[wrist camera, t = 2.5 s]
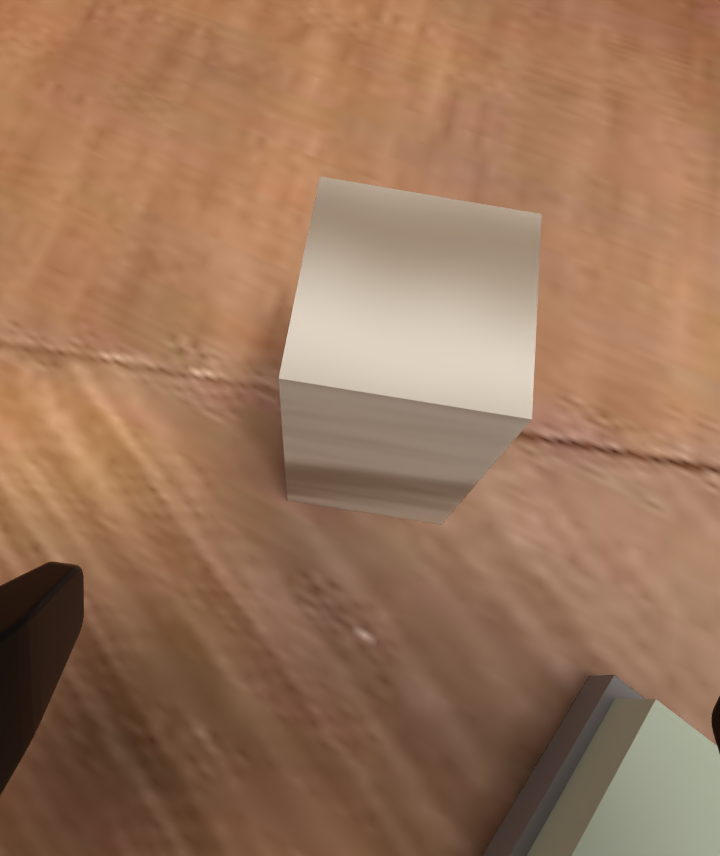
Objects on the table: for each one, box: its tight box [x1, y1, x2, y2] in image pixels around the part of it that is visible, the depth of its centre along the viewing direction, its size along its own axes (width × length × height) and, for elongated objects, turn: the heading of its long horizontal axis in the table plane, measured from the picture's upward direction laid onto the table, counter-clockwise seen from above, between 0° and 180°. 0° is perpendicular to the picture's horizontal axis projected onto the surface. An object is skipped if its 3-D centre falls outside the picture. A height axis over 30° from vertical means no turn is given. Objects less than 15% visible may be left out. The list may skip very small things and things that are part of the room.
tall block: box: [279, 177, 542, 525], centre depth 20 cm, size 6×6×10 cm
